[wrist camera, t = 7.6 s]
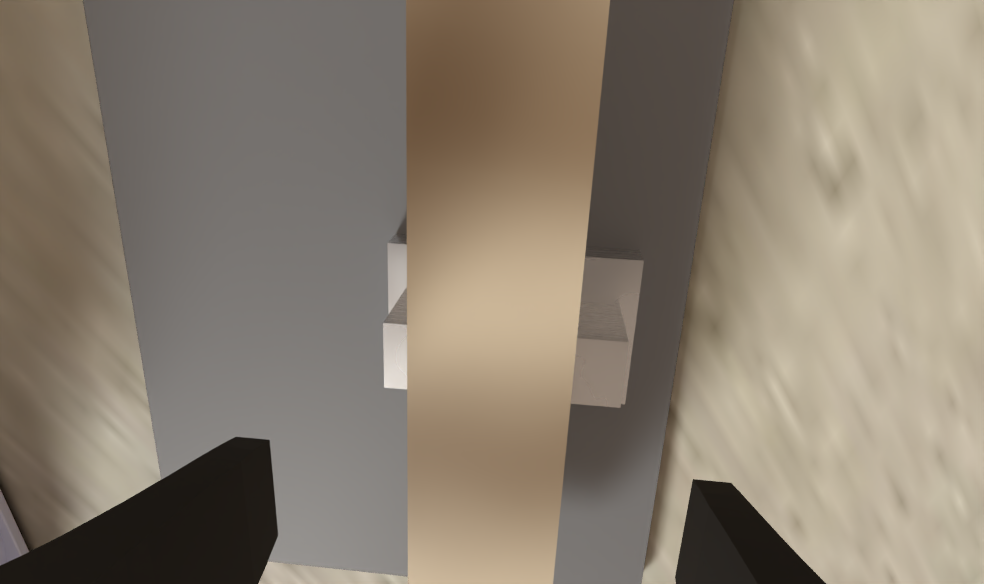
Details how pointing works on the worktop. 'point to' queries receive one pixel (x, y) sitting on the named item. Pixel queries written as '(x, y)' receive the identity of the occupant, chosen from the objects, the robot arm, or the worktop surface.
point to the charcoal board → (369, 252)
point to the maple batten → (494, 275)
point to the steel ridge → (599, 329)
